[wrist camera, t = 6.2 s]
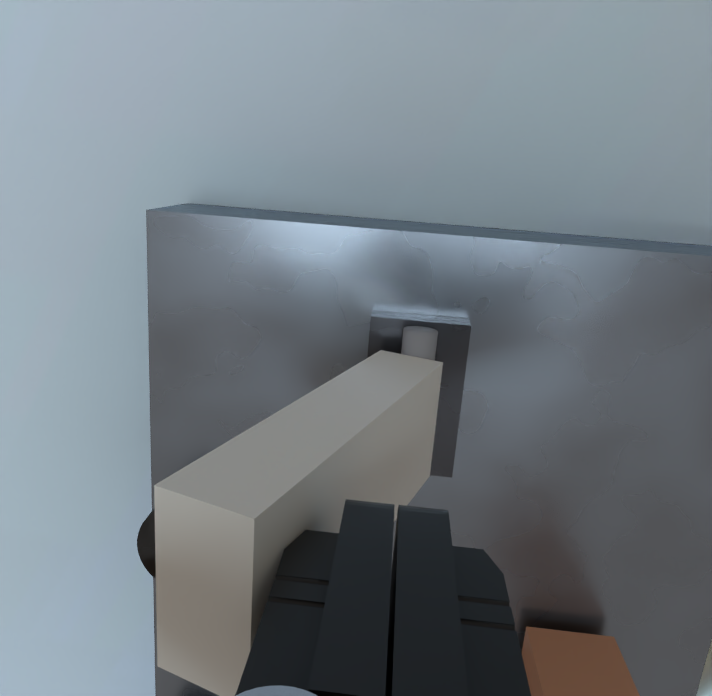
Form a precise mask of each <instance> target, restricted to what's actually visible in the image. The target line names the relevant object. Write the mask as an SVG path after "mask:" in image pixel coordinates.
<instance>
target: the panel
mask: <svg viewBox="0 0 712 696" xmlns="http://www.w3.org/2000/svg"><path fill="white" fill-rule="evenodd" d="M146 218H147V270H148V322H149V374H150V426H151V478H152V512H151V513H150V514H149V516H148V517H147V518H146V520H145V521H144V522H143V524H142V526H141V528H140V530H139V533H138V538H137V547H138V552H139V556H140V559H141V561H142V563H143V565H144V566H145V568H146V569H147V571H148V572H149V573H150V574H151V575H152V576H153V582H154V634H155V686H156V696H219V695H217V694H215V693H213V692H210V691H208V690H206V689H204V688H202V687H200V686H198V685H196V684H194V683H191V682H189V681H187V680H185V679H183V678H181V677H179V676H177V675H175V674H172V673H170V672H168V671H166V670H164V669H162V668H160V667H158V666H157V616H156V561H155V505H154V485H155V484H157V483H159V482H160V481H162V480H164V479H165V478H167V477H169V476H170V475H172V474H174V473H175V472H177V471H179V470H180V469H182V468H184V467H185V466H187V465H189V464H191V463H192V462H194V461H196V460H197V459H199V458H201V457H202V456H204V455H206V454H207V453H209V452H211V451H212V450H214V449H216V448H217V447H219V446H221V445H222V444H224V443H226V442H227V441H229V440H231V439H232V438H234V437H236V436H237V435H239V434H241V433H243V432H244V431H246V430H248V429H249V428H251V427H253V426H254V425H256V424H258V423H259V422H261V421H263V420H264V419H266V418H268V417H269V416H271V415H273V414H274V413H276V412H278V411H279V410H281V409H283V408H284V407H286V406H288V405H289V404H291V403H293V402H294V401H296V400H298V399H300V398H301V397H303V396H305V395H306V394H308V393H310V392H311V391H313V390H315V389H316V388H318V387H320V386H321V385H323V384H325V383H326V382H328V381H330V380H331V379H333V378H335V377H336V376H338V375H340V374H341V373H343V372H345V371H346V370H348V369H350V368H352V367H353V366H355V365H357V364H358V363H360V362H362V361H363V360H365V359H367V358H368V357H370V356H372V355H373V354H375V353H377V352H378V351H380V350H383V351H388V352H393V353H398V354H401V349H402V339H403V329H404V327H407V326H423V327H429V328H433V329H435V330H437V331H438V337H437V346H436V355H435V361H439V362H443V367H442V376H441V384H440V393H439V401H438V410H437V419H436V427H435V436H434V444H433V453H432V461H431V470H430V476H429V478H428V479H427V480H426V482H425V483H424V484H423V485H422V487H421V488H420V489H419V491H418V492H417V493H416V494H415V496H414V497H413V498H412V500H411V501H410V502H409V503H408V505H407V506H416V507H425V508H434V509H444V510H448V512H449V520H450V529H451V538H452V546H458V547H467V548H476V549H483V550H484V551H485V552H486V553H487V554H488V556H489V557H490V558H491V559H492V560H493V562H494V563H495V564H496V565H497V567H498V568H499V569H500V570H501V571H502V573H503V574H504V579H505V583H506V587H507V592H508V596H509V600H510V603H509V606H510V607H511V609H512V614H513V618H514V622H515V631H517V636H518V640H519V644H520V649H521V653H522V648H523V642H524V636H525V631H526V626H527V627H536V628H544V629H553V630H561V631H570V632H578V633H587V634H595V635H604V636H612V637H614V638H615V640H616V642H617V645H618V647H619V649H620V651H621V654H622V656H623V658H624V661H625V663H626V665H627V668H628V670H629V672H630V674H631V677H632V679H633V681H634V684H635V686H636V688H637V691H638V693H639V695H640V696H696V694H697V690H698V686H699V683H700V679H701V676H702V672H703V668H704V665H705V661H706V657H707V654H708V650H709V647H710V643H711V639H712V246H705V245H693V244H681V243H668V242H656V241H644V240H631V239H619V238H607V237H594V236H582V235H570V234H557V233H545V232H533V231H520V230H508V229H496V228H483V227H471V226H459V225H446V224H434V223H422V222H409V221H397V220H385V219H372V218H360V217H348V216H335V215H323V214H311V213H298V212H286V211H274V210H261V209H249V208H237V207H224V206H212V205H200V204H181V205H175V206H168V207H162V208H156V209H149V210H146ZM396 520H397V519H396ZM396 520H395V521H394V528H393V548H392V559H393V549H394V540H395V530H396ZM391 569H392V568H391Z"/></svg>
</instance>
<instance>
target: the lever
mask: <svg viewBox="0 0 712 696" xmlns="http://www.w3.org/2000/svg"><path fill="white" fill-rule="evenodd" d="M437 337H438V331H437V330H435V329H433V328H429V327H423V326H407V327H404V329H403V339H402V349H401V354H398V353H393V352H388V351H383V350H380V351H378V352H377V353H375V354H373V355H372V356H370V357H368V358H367V359H365V360H363V361H362V362H360V363H358V364H357V365H355V366H353V367H352V368H350V369H348V370H346V371H345V372H343V373H341V374H340V375H338V376H336V377H335V378H333V379H331V380H330V381H328V382H326V383H325V384H323V385H321V386H320V387H318V388H316V389H315V390H313V391H311V392H310V393H308V394H306V395H305V396H303V397H301V398H300V399H298V400H296V401H294V402H293V403H291V404H289V405H288V406H286V407H284V408H283V409H281V410H279V411H278V412H276V413H274V414H273V415H271V416H269V417H268V418H266V419H264V420H263V421H261V422H259V423H258V424H256V425H254V426H253V427H251V428H249V429H248V430H246V431H244V432H243V433H241V434H239V435H237V436H236V437H234V438H232V439H231V440H229V441H227V442H226V443H224V444H222V445H221V446H219V447H217V448H216V449H214V450H212V451H211V452H209V453H207V454H206V455H204V456H202V457H201V458H199V459H197V460H196V461H194V462H192V463H191V464H189V465H187V466H185V467H184V468H182V469H180V470H179V471H177V472H175V473H174V474H172V475H170V476H169V477H167V478H165V479H164V480H162V481H160V482H159V483H157V484H155V485H154V505H155V561H156V616H157V666H158V667H160V668H162V669H164V670H166V671H168V672H170V673H172V674H175V675H177V676H179V677H181V678H183V679H185V680H187V681H189V682H191V683H194V684H196V685H198V686H200V687H202V688H204V689H206V690H208V691H210V692H213V693H215V694H217V695H219V696H235V694H236V692H237V689H238V686H239V683H240V680H241V677H242V674H243V671H244V668H245V665H246V662H247V659H248V656H249V653H250V650H251V647H252V644H253V641H254V638H255V635H256V632H257V629H258V626H259V623H260V620H261V617H262V614H263V611H264V608H265V605H266V602H268V597H269V593H270V590H271V587H272V584H273V581H274V579H275V577H276V572H277V569H278V566H279V563H280V560H281V557H282V554H283V551H284V549H285V548H286V547H287V546H288V545H289V544H290V543H292V542H293V541H294V540H295V539H296V538H297V537H298V536H299V535H300V534H302V533H303V532H304V531H305V530H313V531H322V532H331V533H339V530H340V525H341V520H342V515H343V510H344V505H345V500H346V499H349V500H359V501H368V502H377V503H386V504H394V505H395V507H394V521H395V520H396V519H397V511H398V505H408V503H409V502H410V501H411V500H412V498H413V497H414V496H415V494H416V493H417V492H418V491H419V489H420V488H421V487H422V485H423V484H424V483H425V482H426V480H427V479H428V478H429V476H430V470H431V461H432V453H433V444H434V436H435V427H436V419H437V410H438V401H439V393H440V384H441V376H442V367H443V362H439V361H435V355H436V346H437Z"/></svg>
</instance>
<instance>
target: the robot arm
mask: <svg viewBox="0 0 712 696" xmlns="http://www.w3.org/2000/svg"><path fill="white" fill-rule="evenodd" d="M394 507H395V505H394V504H386V503H377V502H368V501H359V500H349V499H346V500H345V505H344V510H343V515H342V520H341V525H340V530H339V533H331V532H322V531H313V530H305V531H304V532H303V533H302V534H300V535H299V536H298V537H297V538H296V539H295V540H294V541H293V542H292V543H290V544H289V545H288V546H287V547H286V548H285V549H284V551H283V554H282V557H281V560H280V563H279V566H278V569H277V572H276V577H275V579H274V581H273V584H272V587H271V590H270V593H269V597H268V602H266V605H265V608H264V611H263V614H262V617H261V620H260V623H259V626H258V629H257V632H256V635H255V638H254V641H253V644H252V647H251V650H250V653H249V656H248V659H247V662H246V665H245V668H244V671H243V674H242V677H241V680H240V683H239V686H238V689H237V692H236V694H235V696H531V693H530V688H529V684H528V680H527V675H526V671H525V666H524V662H523V658H522V653H521V649H520V644H519V640H518V636H517V631H515V622H514V618H513V614H512V609H511V607H510V606H509V603H510V600H509V596H508V592H507V587H506V583H505V579H504V574H503V573H502V571H501V570H500V569H499V568H498V567H497V565H496V564H495V563H494V562H493V560H492V559H491V558H490V557H489V556H488V554H487V553H486V552H485V551H484V550H483V549H476V548H467V547H458V546H452V538H451V529H450V520H449V512H448V510H444V509H434V508H425V507H416V506H407V505H398V511H397V520H396V530H395V540H394V549H393V559H392V548H393V528H394ZM391 568H392V569H391Z"/></svg>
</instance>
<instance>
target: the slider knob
mask: <svg viewBox="0 0 712 696" xmlns="http://www.w3.org/2000/svg"><path fill="white" fill-rule="evenodd" d="M522 658H523V662H524V666H525V671H526V675H527V680H528V684H529V688H530V693H531V696H640V695H639V693H638V691H637V688H636V686H635V684H634V681H633V679H632V677H631V674H630V672H629V670H628V668H627V665H626V663H625V661H624V658H623V656H622V654H621V651H620V649H619V647H618V645H617V642H616V640H615V638H614V637H612V636H604V635H595V634H587V633H578V632H570V631H561V630H553V629H544V628H536V627H527V626H526V631H525V636H524V642H523V648H522Z"/></svg>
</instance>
